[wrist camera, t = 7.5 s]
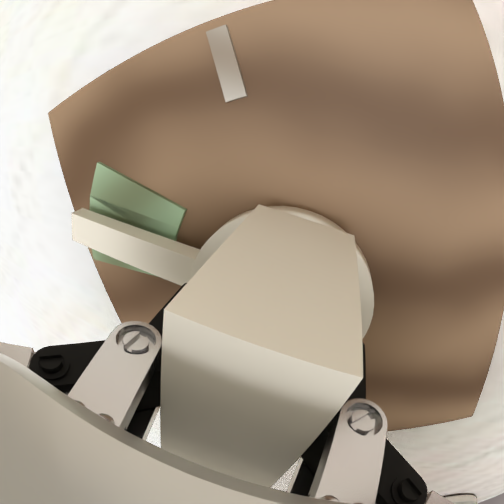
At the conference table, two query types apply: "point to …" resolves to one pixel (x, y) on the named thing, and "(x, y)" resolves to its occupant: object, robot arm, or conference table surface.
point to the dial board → (320, 168)
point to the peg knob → (251, 333)
